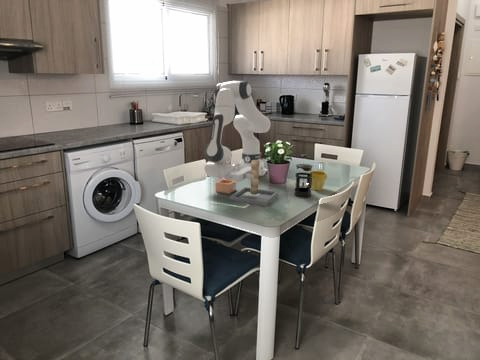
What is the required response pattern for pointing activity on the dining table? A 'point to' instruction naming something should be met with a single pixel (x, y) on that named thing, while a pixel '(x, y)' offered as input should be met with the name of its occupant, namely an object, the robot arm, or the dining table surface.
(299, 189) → the french press
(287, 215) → the dining table surface
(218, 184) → the salmon square socket block
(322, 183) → the yellow cup
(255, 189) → the wooden block tower
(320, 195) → the dining table surface
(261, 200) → the charcoal tray
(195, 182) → the dining table surface
